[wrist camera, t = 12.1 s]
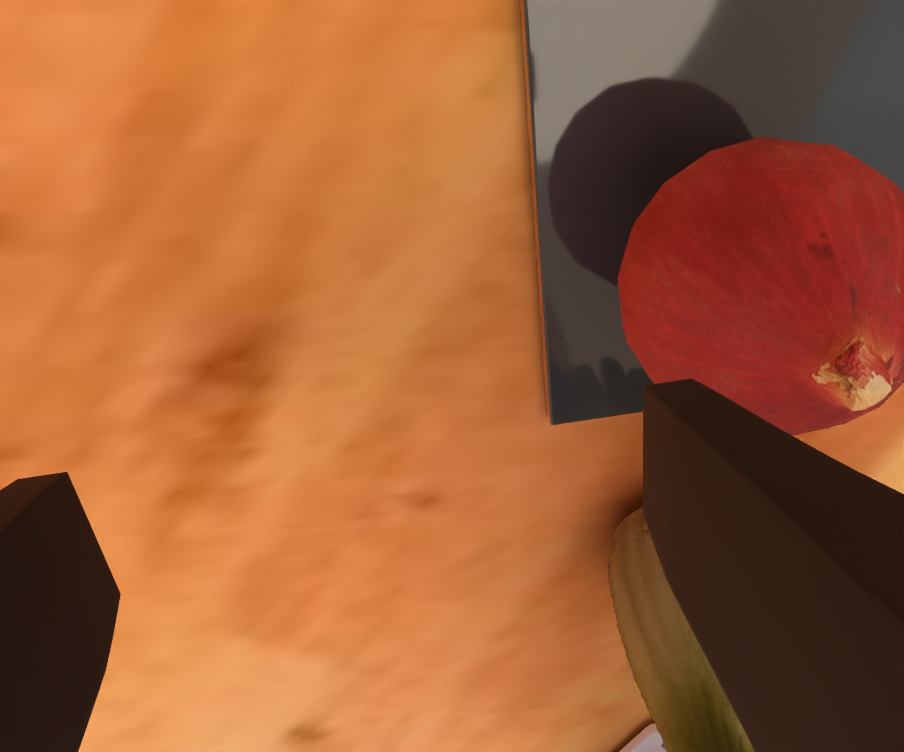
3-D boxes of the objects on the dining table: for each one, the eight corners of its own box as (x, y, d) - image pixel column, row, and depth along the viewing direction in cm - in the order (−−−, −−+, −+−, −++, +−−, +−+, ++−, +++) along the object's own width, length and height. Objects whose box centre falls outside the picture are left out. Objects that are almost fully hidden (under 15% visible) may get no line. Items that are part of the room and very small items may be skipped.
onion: (854, 125, 19) (1150, 242, 12) (768, 346, 21) (966, 549, 14) (616, 87, 18) (781, 189, 11) (557, 323, 20) (659, 528, 13)
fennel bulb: (561, 539, 25) (708, 989, 14) (676, 429, 23) (937, 845, 13) (686, 615, 27) (893, 1054, 16) (799, 520, 25) (1109, 938, 15)
